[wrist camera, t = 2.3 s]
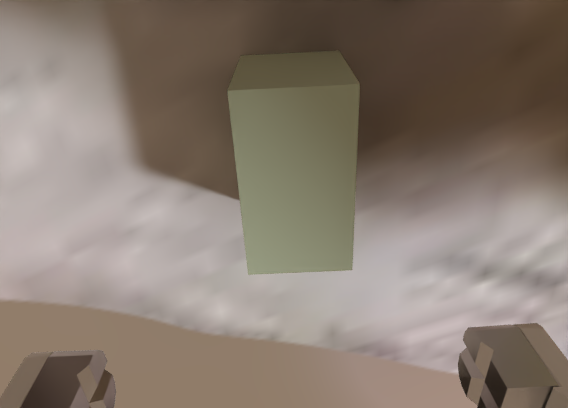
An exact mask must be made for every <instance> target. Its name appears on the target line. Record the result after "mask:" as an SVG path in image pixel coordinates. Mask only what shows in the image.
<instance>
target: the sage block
mask: <svg viewBox="0 0 568 408" xmlns="http://www.w3.org/2000/svg"><path fill="white" fill-rule="evenodd" d="M227 94H228V103H229V111H230V120H231V129H232V138H233V146H234V155H235V164H236V172H237V181H238V190H239V198H240V207H241V216H242V224H243V233H244V242H245V251H246V259H247V268H248V275H251V274H274V273H298V272H321V271H345V270H352V263H353V239H354V215H355V191H356V167H357V143H358V120H359V96H360V83H359V82H358V80H357V78H356V77H355V75H354V74H353V72H352V70H351V69H350V67H349V66H348V64H347V62H346V61H345V59H344V58H343V56H342V54H341V53H340V51H320V52H300V53H281V54H261V55H242V56H241V57H240V59H239V62H238V64H237V67H236V69H235V72H234V74H233V77H232V80H231V82H230V85H229V87H228V90H227Z"/></svg>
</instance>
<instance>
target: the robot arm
mask: <svg viewBox="0 0 568 408" xmlns="http://www.w3.org/2000/svg"><path fill="white" fill-rule="evenodd" d="M463 341H464V343H465V345H466V347H467V348H466V349H465V350H463V351H462V352H461V353H460V355H459V361H458V371H459V378H460V381H461V385H462V387H463V390H464V392H465V394H466V397H468V398H469V399H470V400H471V401H473V402H474V403H475V404H477V405H478V407H477V408H568V360H567V358H566V357H565V356H564V355H563V353H562V352H561V351H560V349H559V348H558V347H557V345H556V344H555V343H554V341H553V340H552V339H551V338H550V336H549V335H548V334H547V332H546V331H545V330H544V328H543V327H542V326H540V325H539V324H537V323H530V324H515V325H497V326H483V327H469V328H468V329H467V330H466V331H465V334H464V338H463ZM106 363H107V359H106V357H105V354H104V352H103V351H100V350H90V351H89V350H88V351H61V352H60V351H58V352H41V353H31V354H30V355H28V356H27V357H26V358H25V359H24V360H23V362H22V363H21V365H20V367H19V368H18V370H17V371H16V373H15V375H14V376H13V378H12V380H11V381H10V383H9V384H8V386H7V388H6V389H5V391H4V393H3V394H2V396H1V398H0V408H114V404H115V395H116V389H115V381H114V378H113V375H112V374H111V373H109V372H108V371H106V370H105V369H104V368H105V366H106Z"/></svg>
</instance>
